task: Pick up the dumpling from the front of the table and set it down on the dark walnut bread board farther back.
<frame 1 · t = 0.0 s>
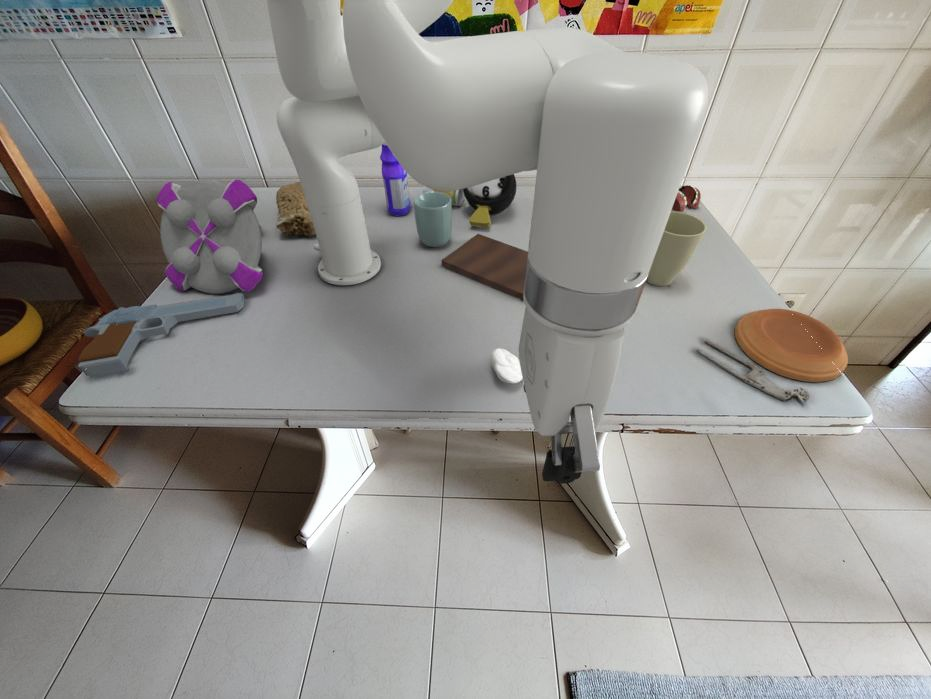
hand: (548, 430, 40), 16 cm above the table, tool pointing down, fingers open, 9 cm apart
saucer: (797, 331, 68), point 3 cm above the table
vegetable: (615, 209, 104), on the table
toy: (194, 235, 75), point 11 cm above the table
dumpling: (507, 375, 66), on the table
alarm clock: (488, 214, 103), on the table
supplement bottle: (462, 194, 104), point 3 cm above the table
nutcracker: (741, 380, 64), on the table
bread board: (499, 267, 87), on the table
bottle: (399, 211, 105), on the table
mug: (653, 280, 83), on the table
dentures: (669, 200, 101), point 3 cm above the table
handgun: (155, 360, 67), point 2 cm above the table
sponge: (303, 219, 102), on the table
cup: (435, 243, 94), on the table
mortar: (186, 216, 86), point 8 cm above the table
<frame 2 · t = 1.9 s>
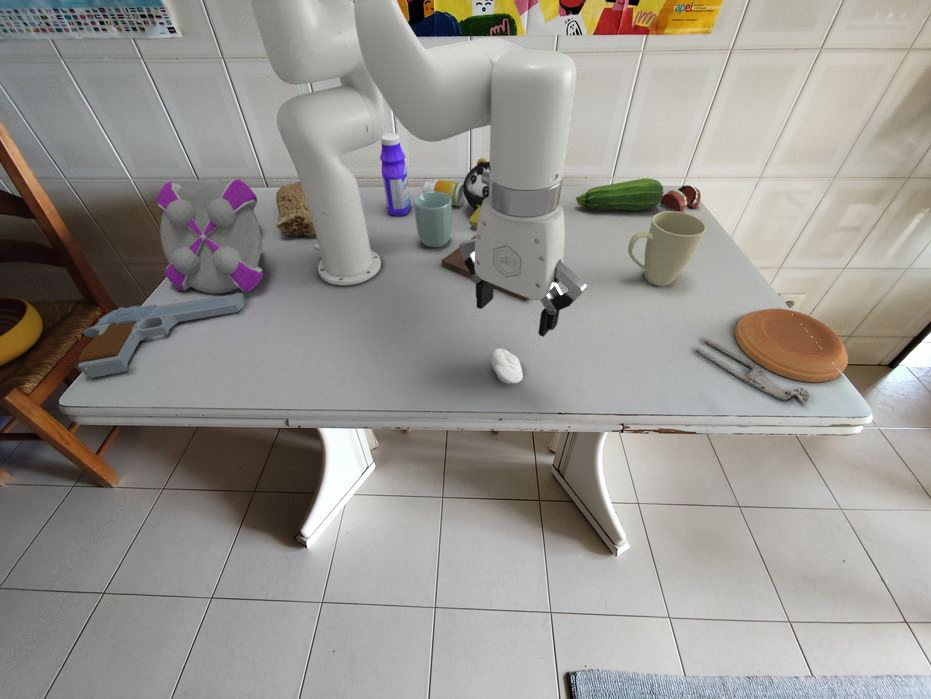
hand: (514, 316, 57), 12 cm above the table, tool pointing down, fingers open, 9 cm apart
nothing on the table moved.
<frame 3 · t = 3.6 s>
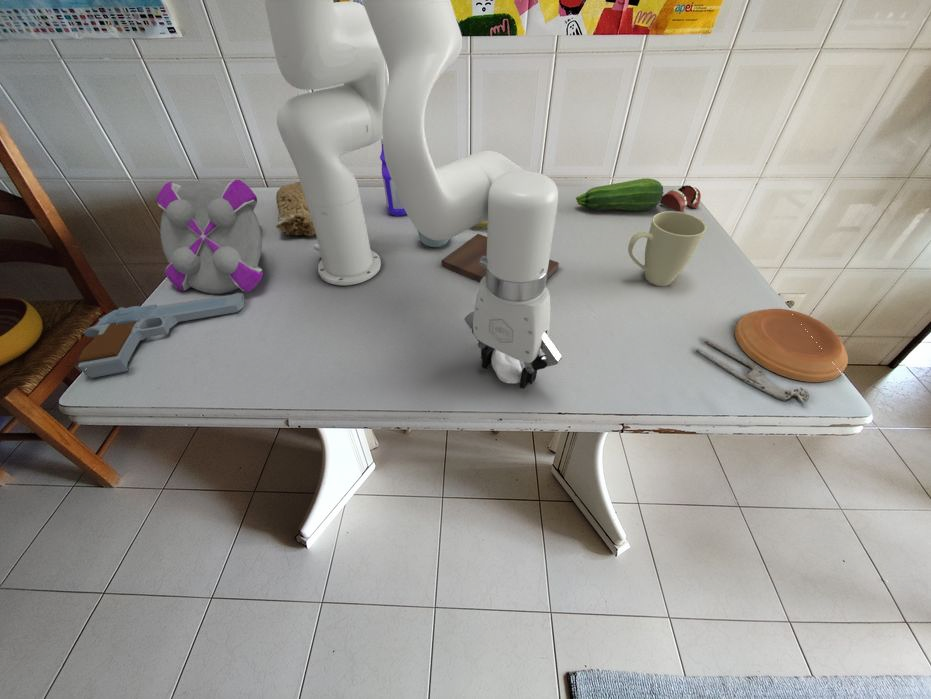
hand: (507, 372, 65), 1 cm above the table, tool pointing down, fingers closed on dumpling, 6 cm apart
dumpling: (507, 375, 66), on the table, touching gripper
everything else where it was.
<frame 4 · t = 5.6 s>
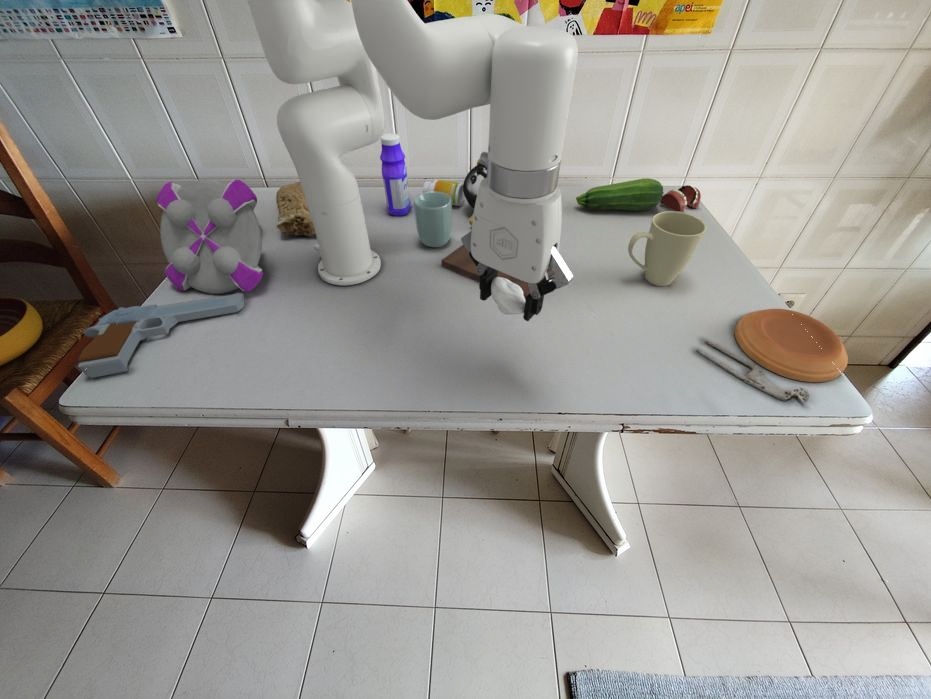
hand: (509, 304, 58), 13 cm above the table, tool pointing down, fingers closed on dumpling, 6 cm apart
dumpling: (508, 308, 58), point 12 cm above the table, touching gripper
everything else where it was.
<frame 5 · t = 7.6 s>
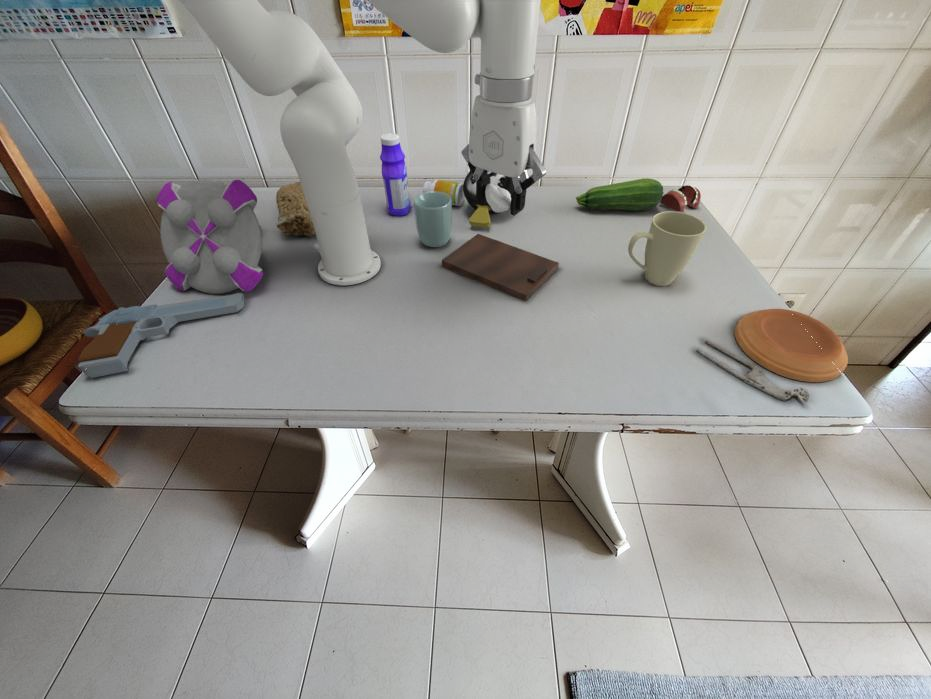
hand: (499, 205, 73), 15 cm above the table, tool pointing down, fingers closed on dumpling, 6 cm apart
dumpling: (499, 210, 74), point 15 cm above the table, touching gripper
everything else where it was.
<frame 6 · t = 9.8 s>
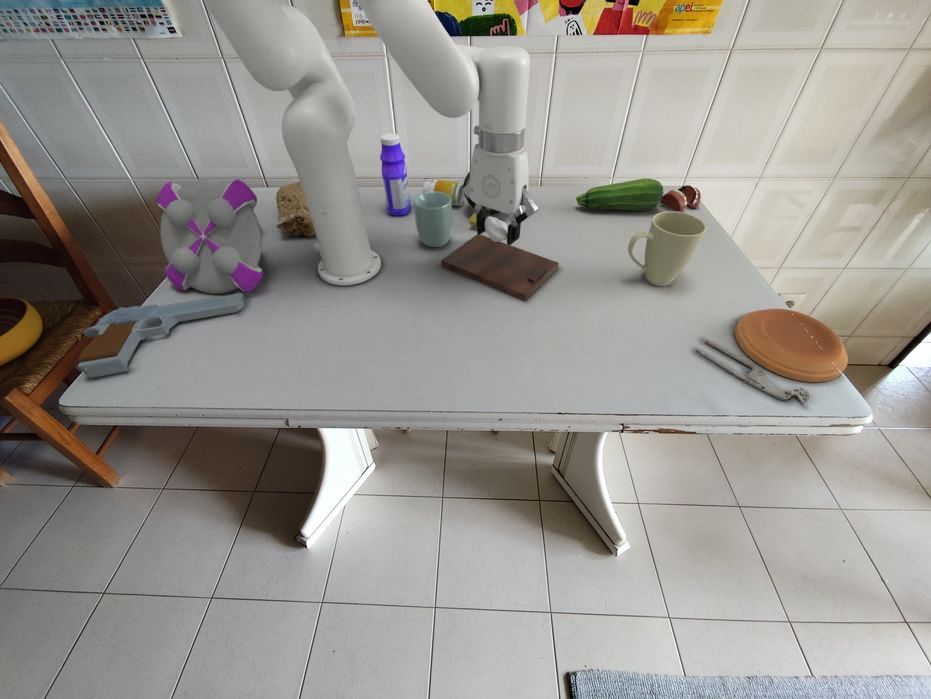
hand: (497, 235, 82), 7 cm above the table, tool pointing down, fingers closed on dumpling, 6 cm apart
dumpling: (497, 239, 83), point 6 cm above the table, touching gripper
everything else where it was.
when the fingers open (2 cm above the table, at t = 11.5 s): dumpling stays where it is, resting on bread board.
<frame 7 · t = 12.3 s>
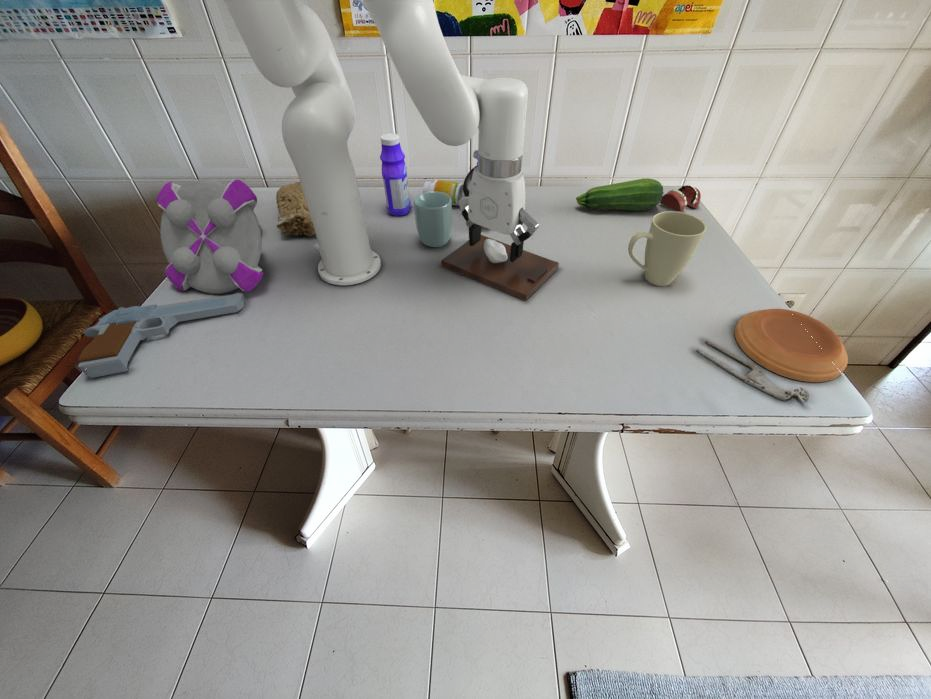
hand: (494, 250, 85), 4 cm above the table, tool pointing down, fingers open, 9 cm apart
dumpling: (495, 260, 86), point 1 cm above the table, touching bread board
everything else where it was.
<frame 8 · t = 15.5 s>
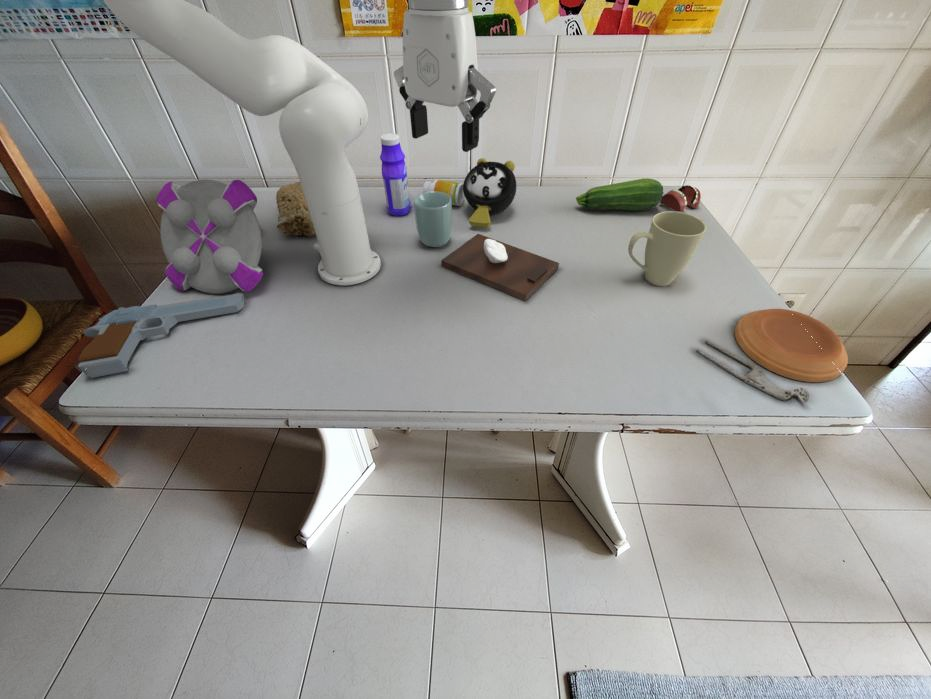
hand: (444, 142, 65), 26 cm above the table, tool pointing down, fingers open, 9 cm apart
nothing on the table moved.
at the end: dumpling inside the target area on the bread board (1.0 cm from its centre), point 1.3 cm above the bread board's base; the gripper is holding nothing; dumpling moved 30.1 cm from its start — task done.
